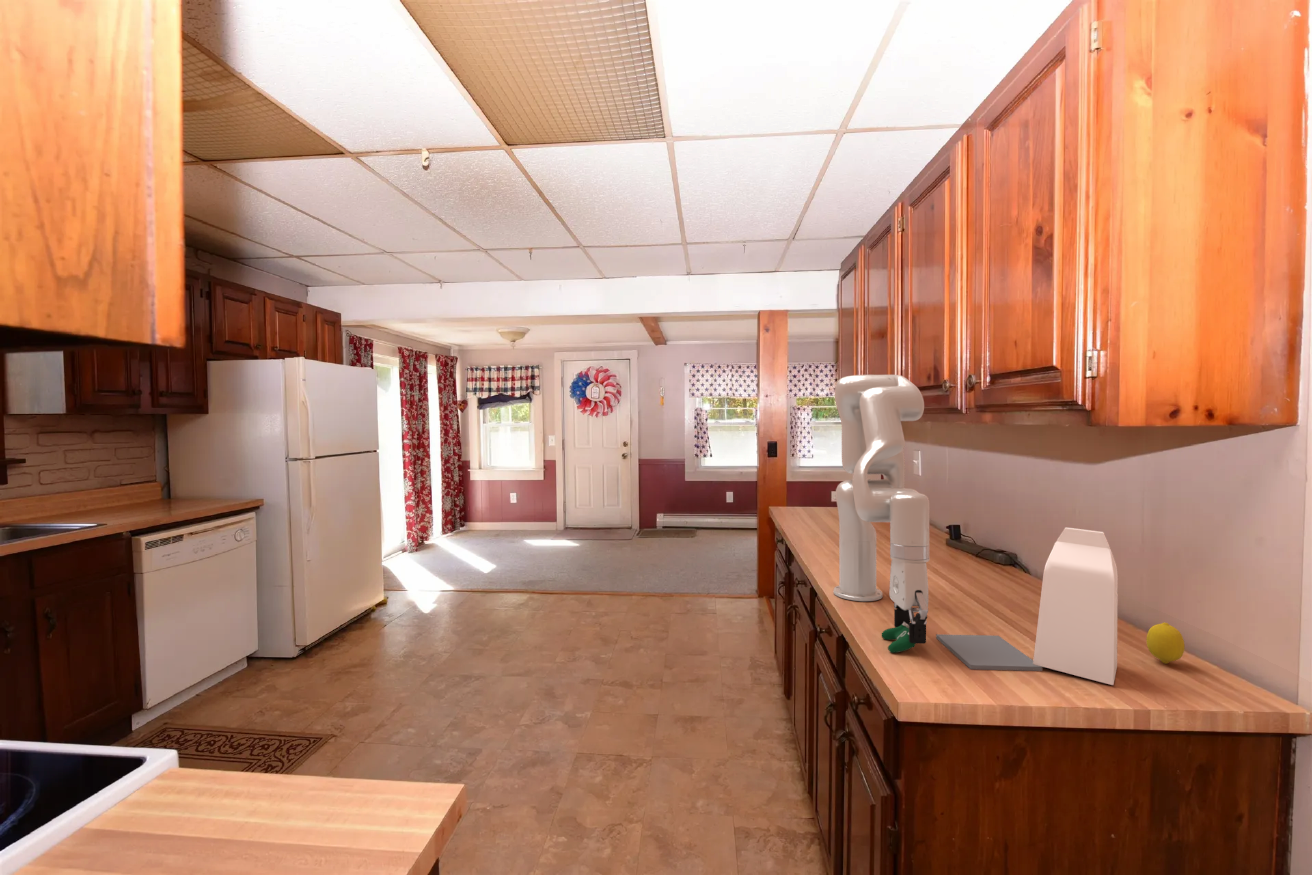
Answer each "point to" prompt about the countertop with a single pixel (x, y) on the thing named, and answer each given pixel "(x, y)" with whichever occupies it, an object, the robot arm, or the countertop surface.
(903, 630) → the gaming controller
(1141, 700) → the countertop surface
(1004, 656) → the slate mat
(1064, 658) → the milk
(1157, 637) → the lemon
